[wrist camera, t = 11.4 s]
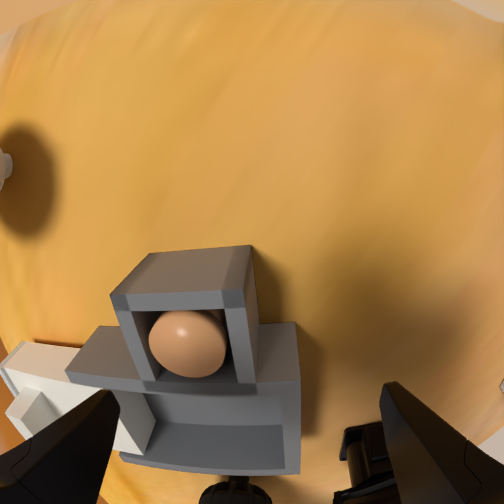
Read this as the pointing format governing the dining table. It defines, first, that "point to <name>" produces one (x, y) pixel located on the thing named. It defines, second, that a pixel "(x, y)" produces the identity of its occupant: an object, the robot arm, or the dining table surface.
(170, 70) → the dining table surface
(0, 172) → the showerhead
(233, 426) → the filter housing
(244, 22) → the dining table surface
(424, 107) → the dining table surface
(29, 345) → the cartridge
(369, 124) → the dining table surface
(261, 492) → the black tall rounded body
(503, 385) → the supplement box
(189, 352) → the tan rounded piece
